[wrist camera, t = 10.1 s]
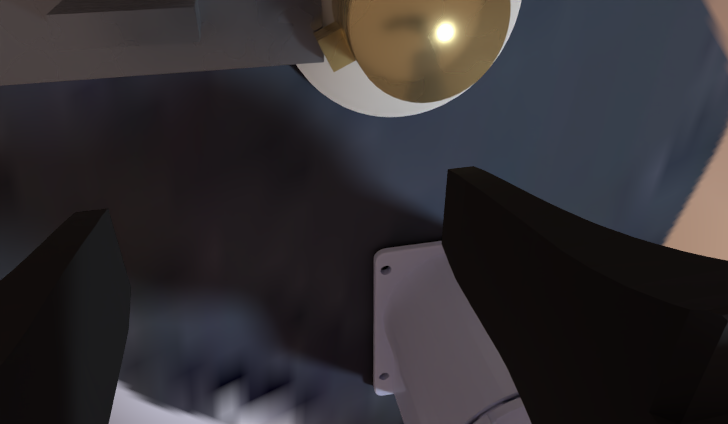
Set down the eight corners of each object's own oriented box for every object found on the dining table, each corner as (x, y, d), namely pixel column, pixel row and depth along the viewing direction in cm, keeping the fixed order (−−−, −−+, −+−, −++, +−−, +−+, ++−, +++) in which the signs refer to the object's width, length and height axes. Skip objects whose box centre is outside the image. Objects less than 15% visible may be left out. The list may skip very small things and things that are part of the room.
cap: (349, 102, 22) (369, 140, 19) (284, -22, 19) (295, 0, 16) (506, 18, 21) (551, 44, 18) (462, -122, 18) (508, -118, 16)
